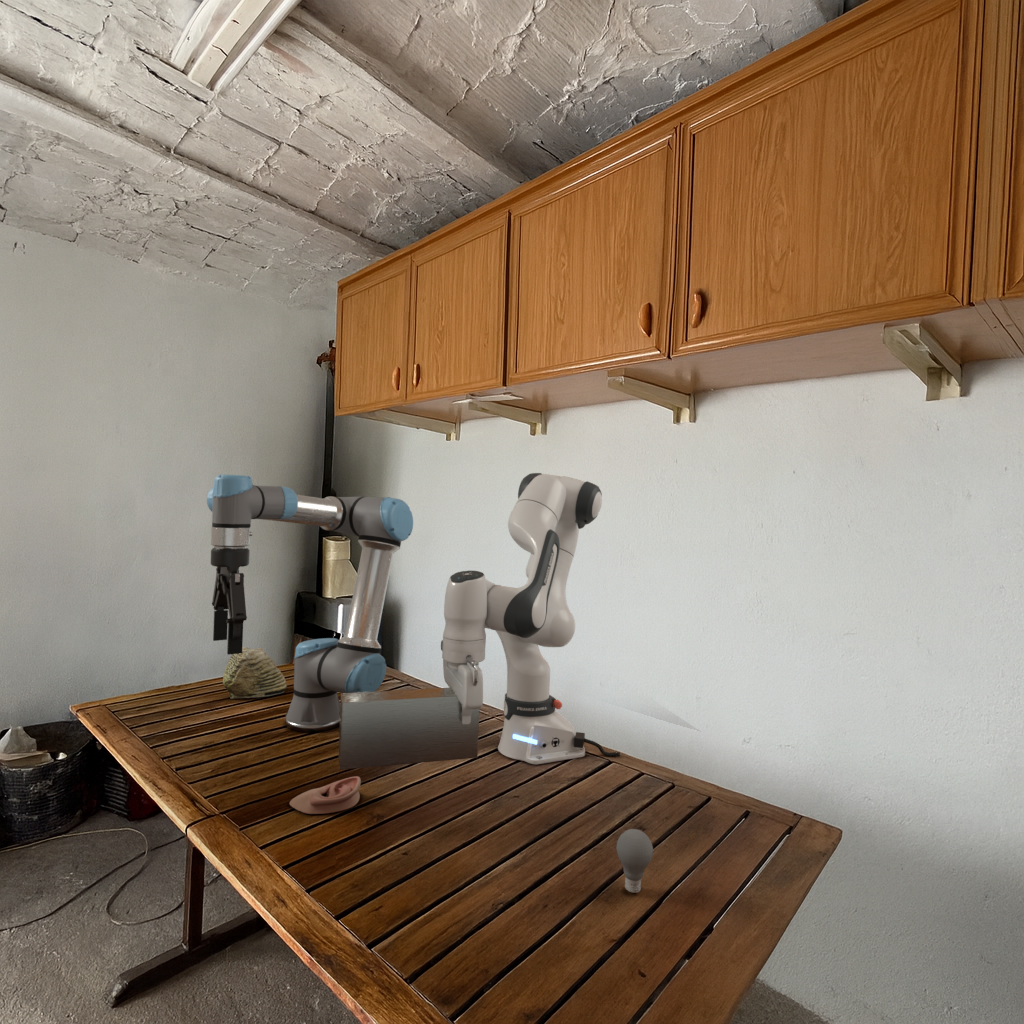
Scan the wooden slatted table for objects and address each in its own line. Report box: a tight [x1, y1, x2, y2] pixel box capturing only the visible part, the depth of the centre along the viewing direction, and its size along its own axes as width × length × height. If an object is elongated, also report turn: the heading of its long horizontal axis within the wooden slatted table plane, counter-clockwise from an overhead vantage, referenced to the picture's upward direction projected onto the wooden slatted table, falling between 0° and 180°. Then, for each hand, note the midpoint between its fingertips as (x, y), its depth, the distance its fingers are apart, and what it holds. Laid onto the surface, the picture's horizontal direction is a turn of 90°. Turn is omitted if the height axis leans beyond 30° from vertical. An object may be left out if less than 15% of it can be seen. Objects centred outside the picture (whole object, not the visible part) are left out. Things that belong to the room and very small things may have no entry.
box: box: [338, 687, 480, 771], centre depth 128 cm, size 27×6×13 cm, turn 108°
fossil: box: [222, 646, 288, 699], centre depth 198 cm, size 9×18×15 cm, turn 132°
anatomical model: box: [289, 775, 362, 815], centre depth 131 cm, size 13×4×12 cm
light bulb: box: [615, 828, 654, 894], centre depth 106 cm, size 6×6×10 cm
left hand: (227, 646), depth 135 cm, fingers open, 13 cm apart
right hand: (461, 716), depth 131 cm, fingers closed on box, 6 cm apart
